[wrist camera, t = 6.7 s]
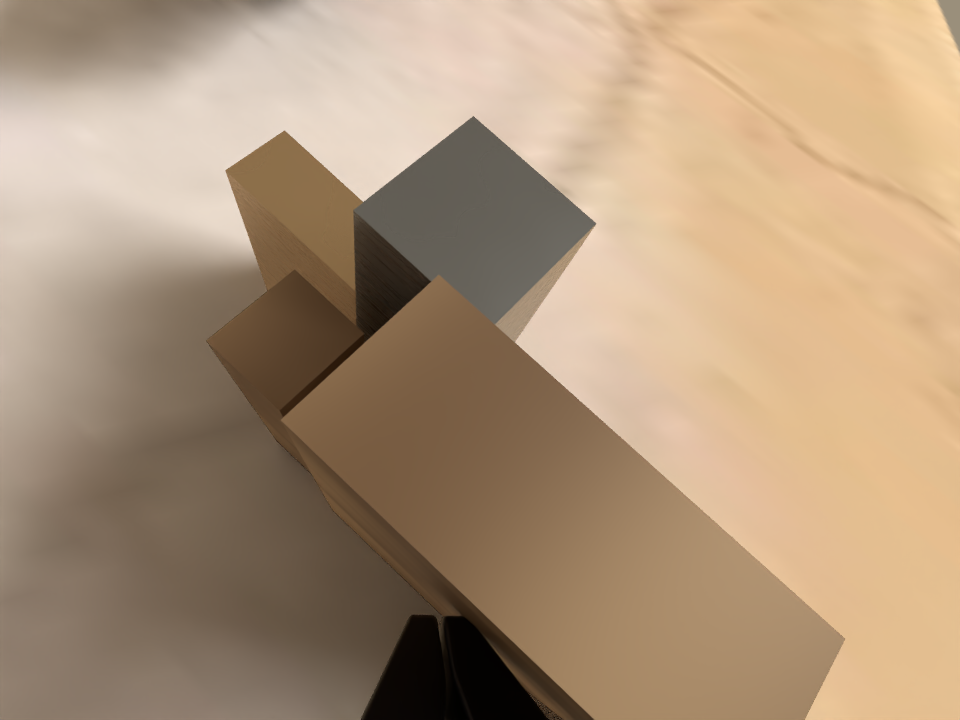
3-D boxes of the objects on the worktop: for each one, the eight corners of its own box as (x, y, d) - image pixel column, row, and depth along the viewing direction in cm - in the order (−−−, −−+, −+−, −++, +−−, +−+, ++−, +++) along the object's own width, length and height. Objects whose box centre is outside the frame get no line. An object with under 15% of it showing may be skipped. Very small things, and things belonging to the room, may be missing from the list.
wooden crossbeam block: (655, 693, 16) (1154, 916, 6) (606, 773, 15) (1090, 1192, 5) (331, 389, 17) (287, 138, 7) (268, 448, 16) (112, 258, 6)
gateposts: (758, 957, 15) (1442, 1640, 5) (261, 287, 18) (152, -12, 9) (830, 851, 16) (1502, 1266, 6) (350, 237, 19) (338, -75, 10)
